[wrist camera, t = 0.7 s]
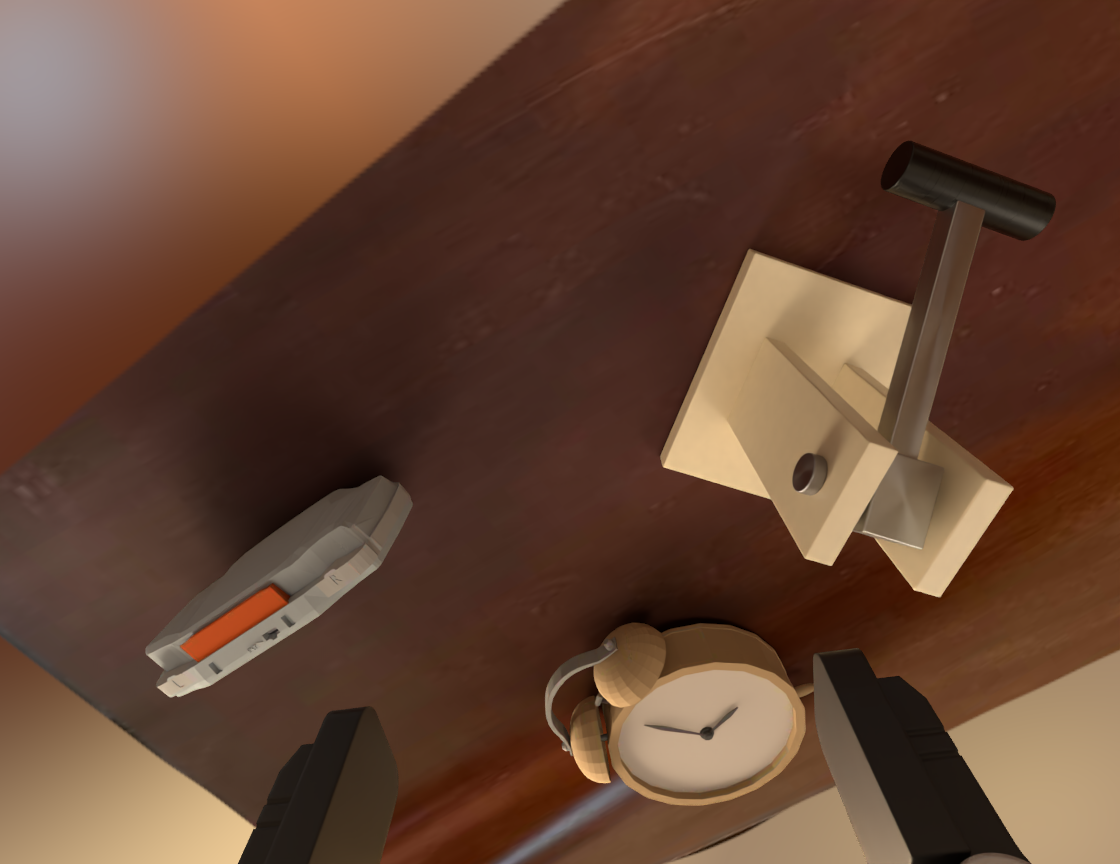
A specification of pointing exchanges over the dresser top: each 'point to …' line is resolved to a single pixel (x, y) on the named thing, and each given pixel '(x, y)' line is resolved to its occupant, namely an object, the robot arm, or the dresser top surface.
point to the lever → (937, 317)
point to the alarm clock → (684, 712)
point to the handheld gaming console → (280, 585)
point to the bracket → (820, 418)
